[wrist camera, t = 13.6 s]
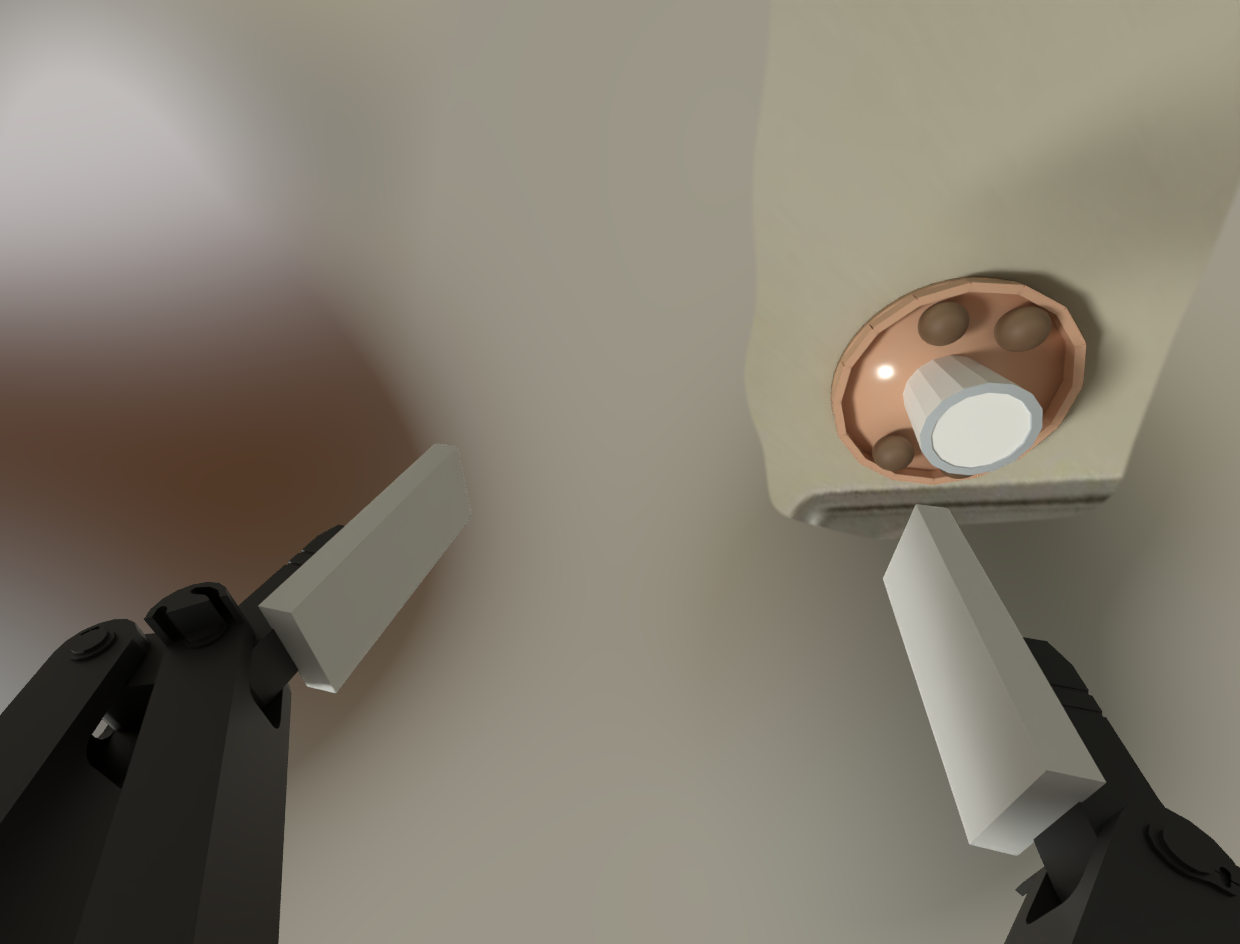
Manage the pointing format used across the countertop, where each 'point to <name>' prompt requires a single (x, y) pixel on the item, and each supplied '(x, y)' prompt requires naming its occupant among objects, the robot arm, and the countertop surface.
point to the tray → (896, 351)
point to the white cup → (970, 415)
